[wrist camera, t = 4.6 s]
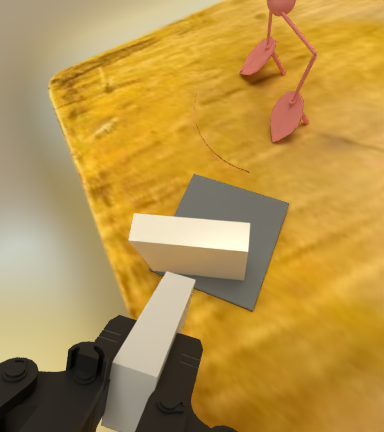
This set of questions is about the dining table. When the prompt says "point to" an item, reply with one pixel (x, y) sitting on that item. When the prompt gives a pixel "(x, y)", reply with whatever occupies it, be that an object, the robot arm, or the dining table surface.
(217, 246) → the tile
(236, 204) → the mat
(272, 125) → the figurine
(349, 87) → the dining table surface
